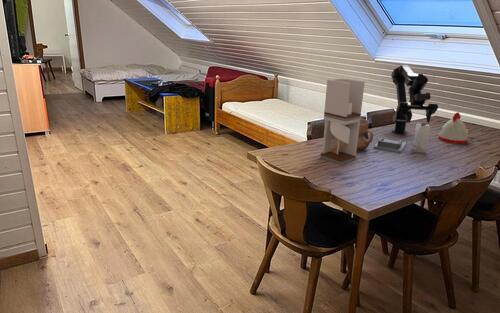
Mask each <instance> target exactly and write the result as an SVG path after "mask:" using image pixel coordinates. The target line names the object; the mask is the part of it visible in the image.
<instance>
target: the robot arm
mask: <svg viewBox="0 0 500 313" xmlns="http://www.w3.org/2000/svg"><path fill="white" fill-rule="evenodd" d="M391 79H392V83H393V84H394V85H395V86H396V98H397V107H396V110H395V112H394V114H393V116H392V122H394V125H395V126H394V130H391V132H392V133H396V134H401V135H403V134H406V133H408V131H407V130H406V127H407V123H408V124H409V123H410V124H411V122H412V118H413V112H412V110H414V111H415V110H417V111H425V117H426V122H427V124H429V123H430V121H431V118H432V115H434V114H435V113H436V112H437V111H438V109H439V105H438V103H437V102H436V103H434V102H429V103H428V105H425V103H426V101H429V100H430V99H431V93H430V92H426V93H422V91H423V90H424V89H425V87H426V86H427V83H428V82H429V79H428V77H427V76H426V75H424V73H418V74H417V73H415V72H414V71H413V70H412V69H411V67H410V65H407V64H406V65H405V64H401V65H399V66H398V67H396V68H394V69H393V70H392V72H391ZM406 86H407V87H409V88H408V92H407V91H406ZM406 92H407V93H408V94H409V100H408V102H409V103H410V104H409V103H408V102H407V93H406Z"/></svg>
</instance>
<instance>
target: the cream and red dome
mask: <svg viewBox="0 0 500 313" xmlns="http://www.w3.org/2000/svg"><path fill="white" fill-rule="evenodd" d="M461 117H462V116H461V114H460V112H459V111H458V112H455V113H454V115H453V116H452V118H451V119H450V120H448V121H446V123H444V125H441V126H440V130H439V133H438V137H437V138H438V140H439V141H442V142H445V143H449V142H450V143H451V144H459V143H461V144H466V143H467V142H468V135H469V129H468V128H467V127H466V125H465V124H466V123H464V122H463V120H461ZM465 142H466V143H465Z"/></svg>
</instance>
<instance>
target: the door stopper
mask: <svg viewBox="0 0 500 313" xmlns="http://www.w3.org/2000/svg"><path fill="white" fill-rule="evenodd" d="M360 118H361V119H365V120H367V116H365V115H361V117H360ZM363 136H364V138H366V139H367V140H368V141H369V139H370V136H369V132H367V133H365V134H364V135H363Z"/></svg>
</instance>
